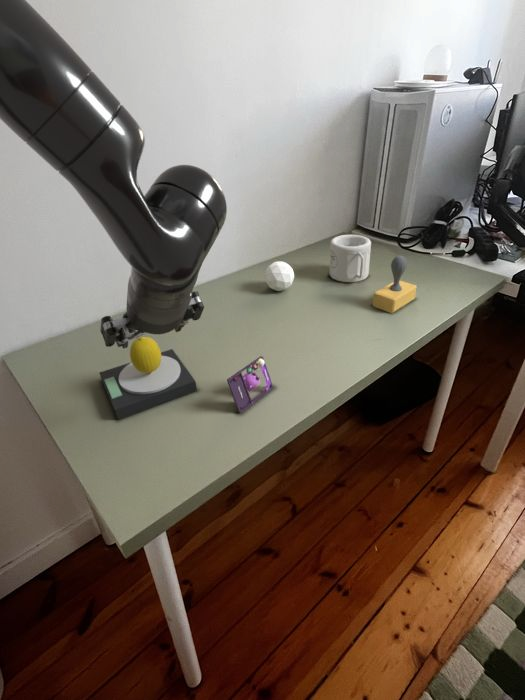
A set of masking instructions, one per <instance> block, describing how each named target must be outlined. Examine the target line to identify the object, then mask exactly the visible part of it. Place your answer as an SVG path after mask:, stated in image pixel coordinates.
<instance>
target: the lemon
mask: <svg viewBox="0 0 525 700" xmlns="http://www.w3.org/2000/svg"><path fill="white" fill-rule="evenodd" d="M161 352H162V351H161V349H160V346H159V344H158V343H157V342H156V341H155V340H154V339H153V338H151V337H148V336H141V337H139V338H138V339H134V340H133V342H132V343H131V345H130V349H129V357H130V358H129V359H130V362H132V364H133V366H134V367H135V368H136V369H137V370H138V371H140V372H142V373H152V372H153V371H155V370H156V369H157V368H158V367H159V365H160V363H161Z"/></svg>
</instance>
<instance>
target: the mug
mask: <svg viewBox="0 0 525 700" xmlns="http://www.w3.org/2000/svg"><path fill="white" fill-rule="evenodd" d="M329 247H330V249H329V250H330V251H329V252H330V253H329V276H330V277H331V278H332V279H333V280H335V281H337V282H341V283H342V282H343V283H358V282H361V281H363V280H365V279H366V278H368V277H369V273H370V263H371V262H370V261H371V250H372V241H371V240H370V238H369V237H367V236H364V235H360V234H342V235H338V236H335V237H332V239H331V240H330V245H329Z"/></svg>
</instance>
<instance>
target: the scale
mask: <svg viewBox="0 0 525 700" xmlns="http://www.w3.org/2000/svg"><path fill="white" fill-rule="evenodd" d="M99 375H100V378H101V381H102V384H103V387H104V389H105V392H106V394H107V396H108V399H109V401H110V404H111V406H112V409H113V412H114V413H115V416H116V418H117V421H118V420H123V419H124V418H127V417H131V416H132V415H135V414H138V413H141V412H143V411H146V410H148V409H152V408H154V407H157V406H159V405H162V404H165V403H168V402H170V401H173V400H176V399H179V398H182V397H184V396H187V395H190V394H192V393H195V392H198V388H197V383H196V380H195V378H194V377H193V376H192V374H191V373H190V371H189V370H188V369H187V367H186V366H185V365H184V363H183V362H182V360H181V359H180V357H179V356H178V355H177V354H176V352H175V351H174V349H173V348H171V349H168V350H167V349H166V350H164V351H161V363H160V365H159V367H158V368H157V369H156V370H155V371H153V372H152V373H142V372H140V371H138V370H137V369H136V368H135V367H134V366H133V364H132V362H131V361H130V362H128V363H125V364H122V365H118V366H116V367H112V368H109V369H105V370H103V371H100V372H99Z"/></svg>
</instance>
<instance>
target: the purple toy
mask: <svg viewBox="0 0 525 700" xmlns="http://www.w3.org/2000/svg"><path fill="white" fill-rule="evenodd" d="M258 368H260V370H261V372H262V374H263V377H264V380H265V382H266V383H265V384H266V386H265V390H263V391H262V392H261V393H260V394H259V395H257V396H256V397H254V398H253V399H252V398H251V395H250V392H251V391H253V390H254V389H256V388H257V387H258V385H260V384H261V381H260V379H261V378H262V375H261V376H258V375H257V373H258ZM244 371H246V373H244V375H243V372H244ZM253 371H254V372H253ZM226 382H227V385H228V387H229V390H230V393H231V396H232V398H233V401H234V403H235V406H236V409H237V412H238V413H241V414H242V413H243V412H245V410H247V409H248V408H250V407H251V406H252V405H253V404H254V403H256V402H257V401H258V400H260V399H261V398H262V397H264V396H265V395H266V394H267V393H269V392H270V391H272V389H273V388H274V385H273V382H272V379H271V376H270V374H269V370H268V367H267V365H266V362H265V358H264V356H262V355H260V356H259V357H257V358H256V359H254V360H253V361H251V362H250V363H248V364H247V365H246V366H244V367H243V368H241V369H240V370H238V371H237V372H235V373H234V374H232V375H231V376H230V377H228V378H227V379H226Z"/></svg>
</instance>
